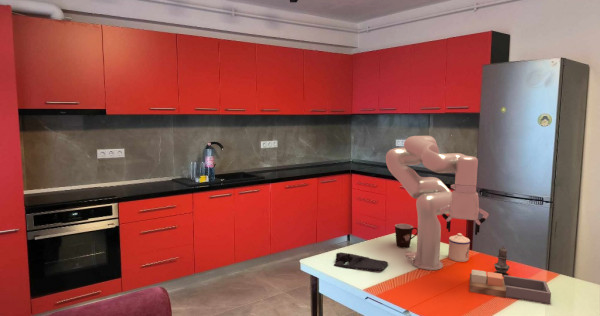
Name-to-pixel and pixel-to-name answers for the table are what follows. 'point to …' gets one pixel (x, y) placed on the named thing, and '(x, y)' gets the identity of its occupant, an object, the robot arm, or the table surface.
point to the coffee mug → (404, 235)
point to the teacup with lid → (459, 248)
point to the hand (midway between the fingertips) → (462, 232)
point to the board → (488, 288)
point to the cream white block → (478, 276)
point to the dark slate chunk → (359, 262)
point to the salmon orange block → (494, 279)
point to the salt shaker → (502, 262)
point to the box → (527, 289)
